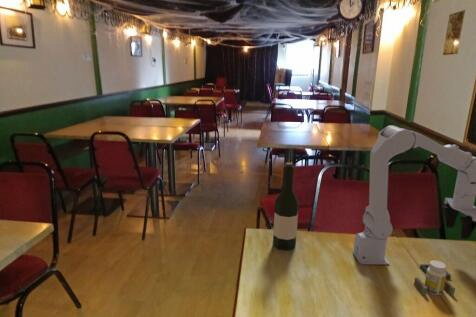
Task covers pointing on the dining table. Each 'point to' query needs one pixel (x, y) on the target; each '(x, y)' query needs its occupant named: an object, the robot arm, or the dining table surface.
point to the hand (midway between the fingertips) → (456, 232)
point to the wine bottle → (286, 213)
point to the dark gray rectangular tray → (425, 266)
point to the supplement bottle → (435, 277)
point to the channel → (423, 288)
